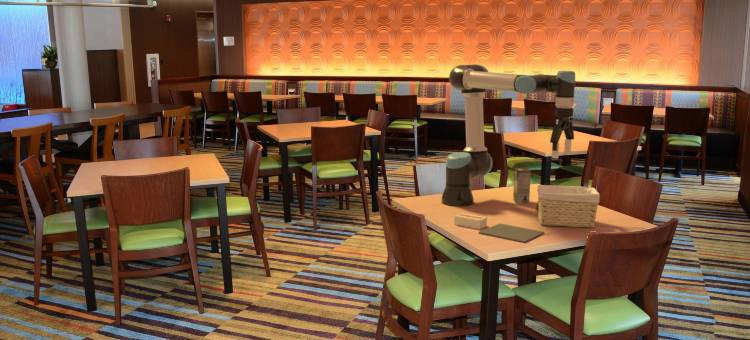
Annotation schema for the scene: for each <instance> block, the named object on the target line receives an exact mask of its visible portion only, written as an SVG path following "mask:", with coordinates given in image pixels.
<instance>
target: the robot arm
mask: <svg viewBox="0 0 750 340" xmlns="http://www.w3.org/2000/svg"><path fill="white" fill-rule="evenodd" d="M448 80H449V83H450V85H451V86H452V87H453V88H454V89H456V90H459V91H461V93H460V94H461V95H462V96H463V97H464V111H465V112H464V113H465V114H464V116H465V117H464V120H465V142H466V143H465V145H466V146H465V147H464V149H463V151H459V152H453V153H452V152H451V153H450V154H449V155H447V156H446V160H445V188H444V190H443V193H442V196H441V203H442V204H443V205H447V206H453V207H464V206H470V205H473V204H474V201H475V200H474V195H473V191H472V188H471V179H475V178H482V177H483V176H486V175H488V174H489V173H490V172H491V170H492V168H493V162H494V161H493V157H492V156H491V154H490V153H488V152H489V151H488V148H487V147H486V146H485V133H484V132H485V129H484V128H485V127H484V126H485V125H484V124H485V123H484V122H485V121H484V95H485V94H486V93H487V92H486V91H487V90H494V91H501V92H502V91H503V92H513V93H520V94H522V95H523V94H524V95H529V94H536V93H540V94H541V93H553V94H555V104H554V105H555V108H554V116H555V117H557V119H554V120H553V121H554V122H553V128H552V132H551V134H550V135H551V136H550V140H549V142H550V144H551V143H552V144H551V146H552V147H551V159H559V155H560V154H559V150H560V143H559V142H560V139H561V136H562V134H563V133H564V136H565V139H564V149H563V152H564V153H563V154H564V155H568V156H570V155H571V153H572V142H573V141H572V140H575V133H574V126H573V116H574V108H573V107H574V103H575V102H576V100H575V88H576V87H575V86H576V73H575V71H573V70H558V71H557V73H556V74H543V73H542V74H541V73H539V74H538V73H537V74H533V75H531V74H529V75H527V74H514V73H501V72H492V71H491V72H490V71H488V69H487V68H486V67H485V66H483V65H481V64H459V65H456V66H454V67H453V68H452V69H451V70H450V73H449V77H448Z"/></svg>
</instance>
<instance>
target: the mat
mask: <svg viewBox="0 0 750 340" xmlns="http://www.w3.org/2000/svg"><path fill="white" fill-rule="evenodd" d="M478 234H479V235H484V236H489V237H495V238H499V239H505V240H509V241H513V242H519V243H522V244H526V243H528V242H529V241H531V240H534V239H536V238H539V237H540V236H542V235H545V231H541V230H536V229H531V228H527V227H520V226H515V225H510V224H509V225H508V224H505V223H501V222H499V223H498V224H494V225H492V226H489V227H488V228H485V229H483V230H481V231H478Z"/></svg>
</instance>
